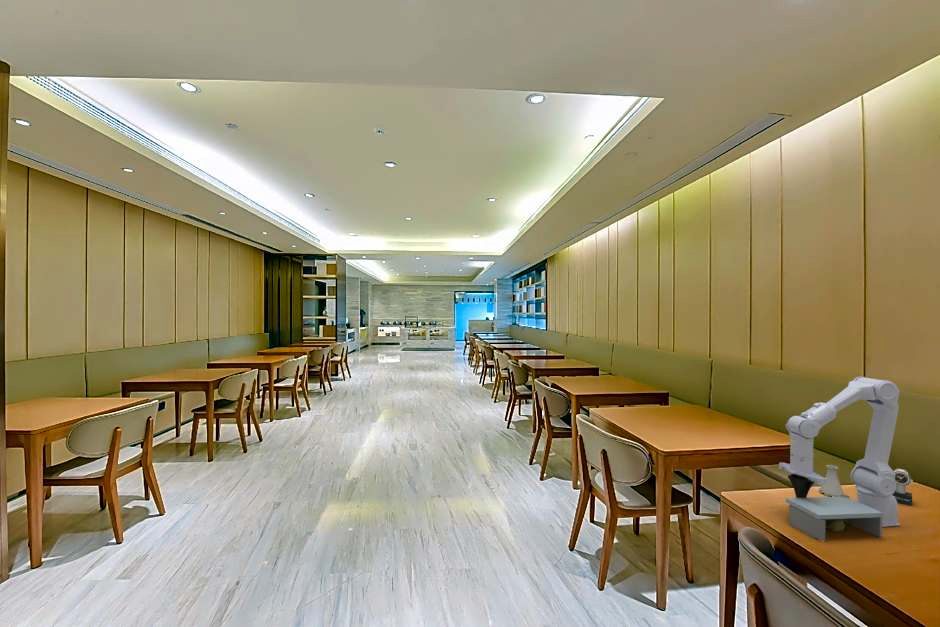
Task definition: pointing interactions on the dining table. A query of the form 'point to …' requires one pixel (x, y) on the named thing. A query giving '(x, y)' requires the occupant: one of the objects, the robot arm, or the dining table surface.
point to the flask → (832, 483)
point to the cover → (833, 507)
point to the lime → (834, 524)
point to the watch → (902, 487)
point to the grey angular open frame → (817, 526)
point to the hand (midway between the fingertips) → (801, 500)
